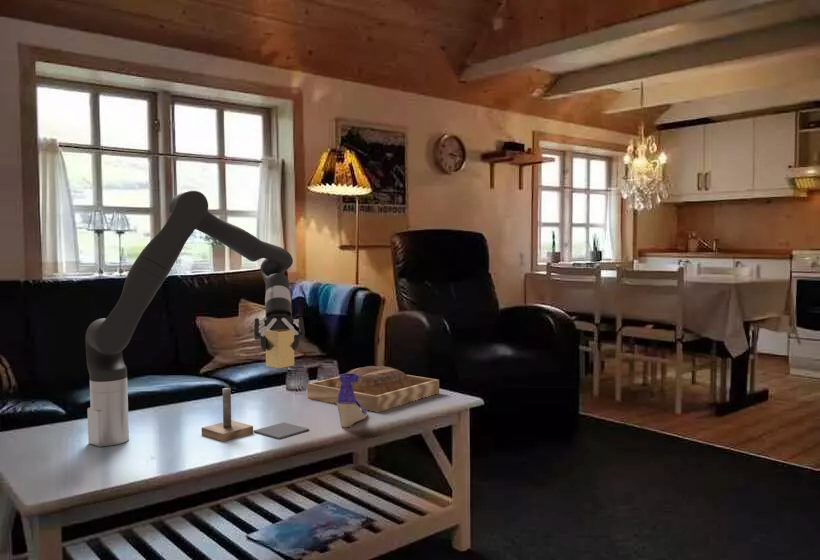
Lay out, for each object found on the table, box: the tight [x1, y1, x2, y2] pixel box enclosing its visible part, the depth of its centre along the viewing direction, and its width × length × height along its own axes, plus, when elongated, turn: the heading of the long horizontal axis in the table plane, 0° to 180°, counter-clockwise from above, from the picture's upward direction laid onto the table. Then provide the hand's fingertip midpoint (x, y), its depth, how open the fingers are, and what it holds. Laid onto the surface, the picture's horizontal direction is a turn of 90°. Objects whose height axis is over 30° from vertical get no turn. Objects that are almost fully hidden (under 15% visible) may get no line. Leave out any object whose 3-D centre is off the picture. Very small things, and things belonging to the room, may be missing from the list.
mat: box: [253, 422, 310, 440], centre depth 190 cm, size 11×11×1 cm
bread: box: [335, 365, 412, 396], centre depth 236 cm, size 26×27×10 cm
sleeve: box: [264, 329, 295, 369], centre depth 188 cm, size 6×6×10 cm
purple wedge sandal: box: [336, 373, 368, 429], centre depth 201 cm, size 8×20×15 cm, turn 165°
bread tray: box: [306, 374, 440, 413], centre depth 233 cm, size 33×32×5 cm
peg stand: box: [201, 387, 254, 442], centre depth 187 cm, size 10×10×13 cm
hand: (280, 349), depth 187 cm, fingers closed on sleeve, 8 cm apart
